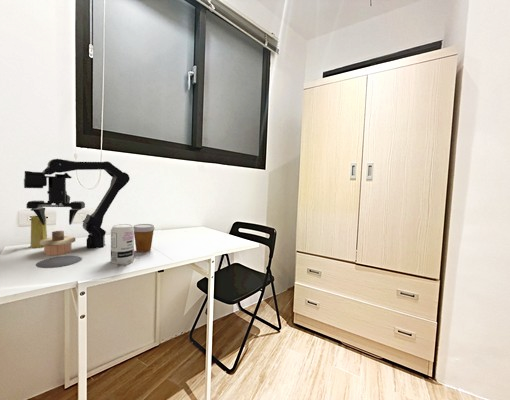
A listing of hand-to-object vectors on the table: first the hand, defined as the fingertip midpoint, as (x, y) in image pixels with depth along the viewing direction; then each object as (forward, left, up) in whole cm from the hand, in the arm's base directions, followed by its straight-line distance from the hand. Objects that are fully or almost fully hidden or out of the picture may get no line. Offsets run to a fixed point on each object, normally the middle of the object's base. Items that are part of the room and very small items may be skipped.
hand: (57, 224), depth 104 cm
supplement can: (-27, +18, -13) cm, 35 cm away
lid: (0, 0, -8) cm, 8 cm away
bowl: (0, 0, -13) cm, 13 cm away
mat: (-5, +14, -13) cm, 19 cm away
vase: (+11, -12, -13) cm, 21 cm away
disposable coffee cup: (-34, +3, -13) cm, 37 cm away
